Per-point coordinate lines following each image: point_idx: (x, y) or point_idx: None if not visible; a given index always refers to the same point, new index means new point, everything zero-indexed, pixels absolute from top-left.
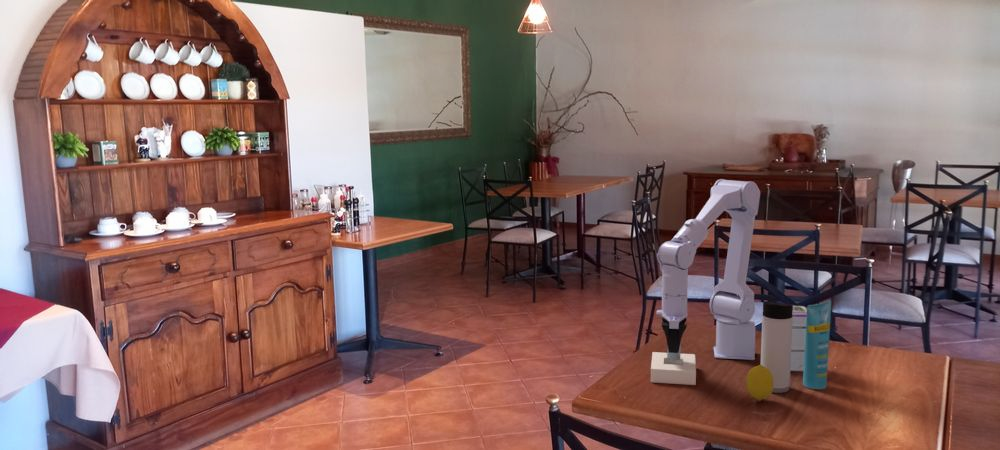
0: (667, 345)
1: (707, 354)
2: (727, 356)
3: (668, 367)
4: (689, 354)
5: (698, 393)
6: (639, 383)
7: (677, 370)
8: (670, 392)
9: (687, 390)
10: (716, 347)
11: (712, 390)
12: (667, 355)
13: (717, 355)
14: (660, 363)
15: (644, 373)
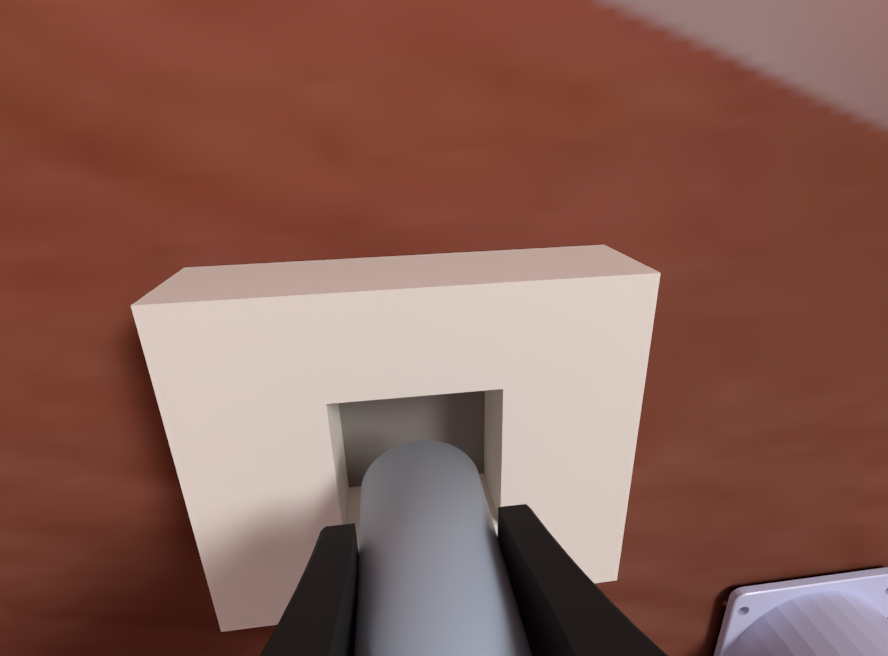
0: (296, 588)
1: (802, 544)
2: (733, 644)
3: (241, 450)
4: (611, 550)
5: (101, 573)
6: (116, 175)
7: (191, 521)
8: (26, 424)
9: (125, 515)
10: (829, 622)
11: (191, 626)
12: (402, 463)
13: (752, 604)
14: (331, 376)
15: (385, 197)
